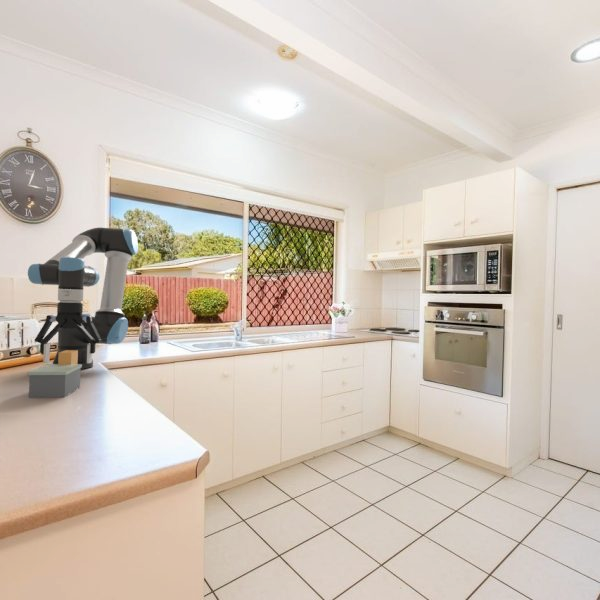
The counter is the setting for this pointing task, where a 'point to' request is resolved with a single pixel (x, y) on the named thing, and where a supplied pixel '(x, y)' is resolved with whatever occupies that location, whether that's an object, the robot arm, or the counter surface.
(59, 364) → the lid
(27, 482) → the counter surface
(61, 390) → the tub
